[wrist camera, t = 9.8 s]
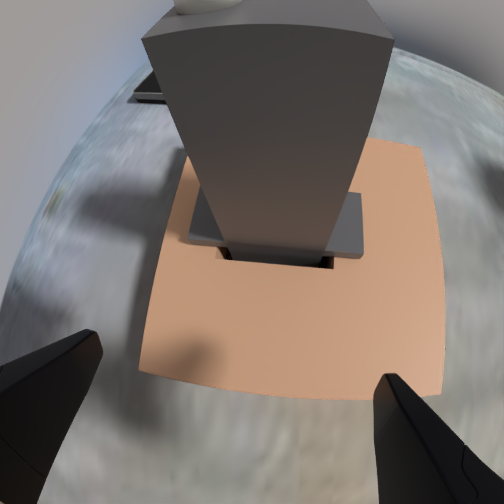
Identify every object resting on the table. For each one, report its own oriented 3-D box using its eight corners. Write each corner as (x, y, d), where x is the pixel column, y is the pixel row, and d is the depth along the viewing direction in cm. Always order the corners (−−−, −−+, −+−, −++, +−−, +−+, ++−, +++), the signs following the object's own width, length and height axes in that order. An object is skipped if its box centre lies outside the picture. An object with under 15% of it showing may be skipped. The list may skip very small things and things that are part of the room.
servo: (347, 222, 20) (430, -16, 4) (347, 274, 19) (493, 32, 3) (213, 211, 21) (124, -19, 5) (203, 261, 20) (54, 29, 4)
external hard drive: (217, 112, 26) (213, 97, 24) (135, 104, 28) (129, 93, 26) (243, 76, 28) (241, 63, 26) (165, 72, 30) (161, 61, 28)
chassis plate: (419, 390, 15) (440, 394, 12) (158, 369, 17) (138, 370, 14) (408, 169, 21) (420, 147, 18) (205, 151, 23) (197, 127, 21)
